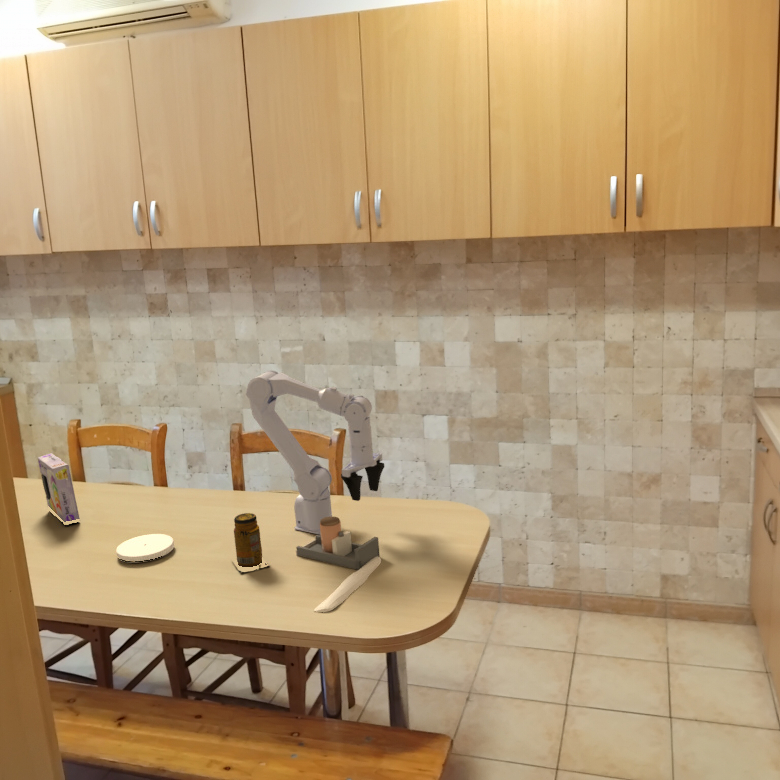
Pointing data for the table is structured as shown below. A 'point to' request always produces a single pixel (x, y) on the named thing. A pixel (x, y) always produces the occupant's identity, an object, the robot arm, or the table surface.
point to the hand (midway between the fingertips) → (365, 495)
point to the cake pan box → (58, 487)
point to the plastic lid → (145, 547)
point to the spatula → (348, 586)
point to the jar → (329, 532)
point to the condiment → (247, 540)
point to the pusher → (342, 543)
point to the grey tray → (352, 560)
